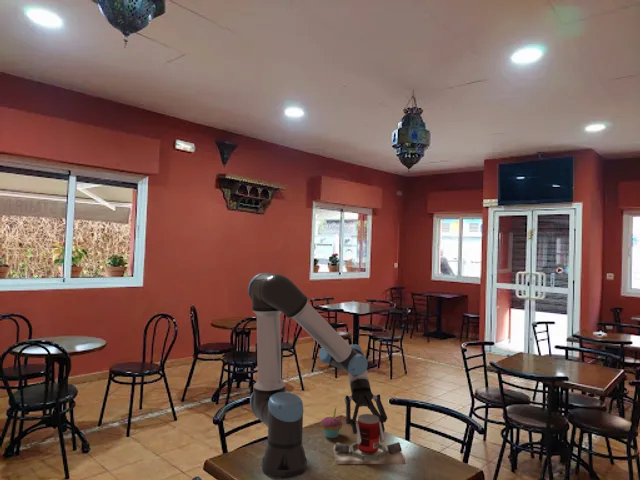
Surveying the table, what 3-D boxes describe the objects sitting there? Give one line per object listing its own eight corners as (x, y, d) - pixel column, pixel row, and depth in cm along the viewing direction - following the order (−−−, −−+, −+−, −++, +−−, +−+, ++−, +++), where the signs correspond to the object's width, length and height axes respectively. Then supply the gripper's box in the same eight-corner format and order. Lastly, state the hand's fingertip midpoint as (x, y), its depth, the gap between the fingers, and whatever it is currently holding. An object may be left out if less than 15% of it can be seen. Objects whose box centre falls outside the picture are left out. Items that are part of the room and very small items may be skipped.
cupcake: (345, 434, 178) (346, 404, 178) (335, 442, 170) (335, 410, 171) (327, 429, 182) (327, 400, 183) (316, 436, 175) (316, 406, 175)
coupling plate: (336, 464, 152) (336, 450, 152) (333, 448, 165) (333, 435, 165) (405, 464, 153) (405, 450, 154) (397, 448, 166) (397, 435, 166)
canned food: (378, 444, 163) (378, 414, 163) (379, 454, 155) (379, 422, 155) (357, 443, 164) (358, 413, 164) (357, 452, 156) (357, 421, 156)
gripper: (382, 386, 177) (396, 444, 160) (331, 388, 173) (340, 448, 157) (387, 376, 172) (401, 435, 155) (335, 378, 168) (344, 439, 152)
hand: (371, 441), depth 156 cm, fingers closed on canned food, 8 cm apart
